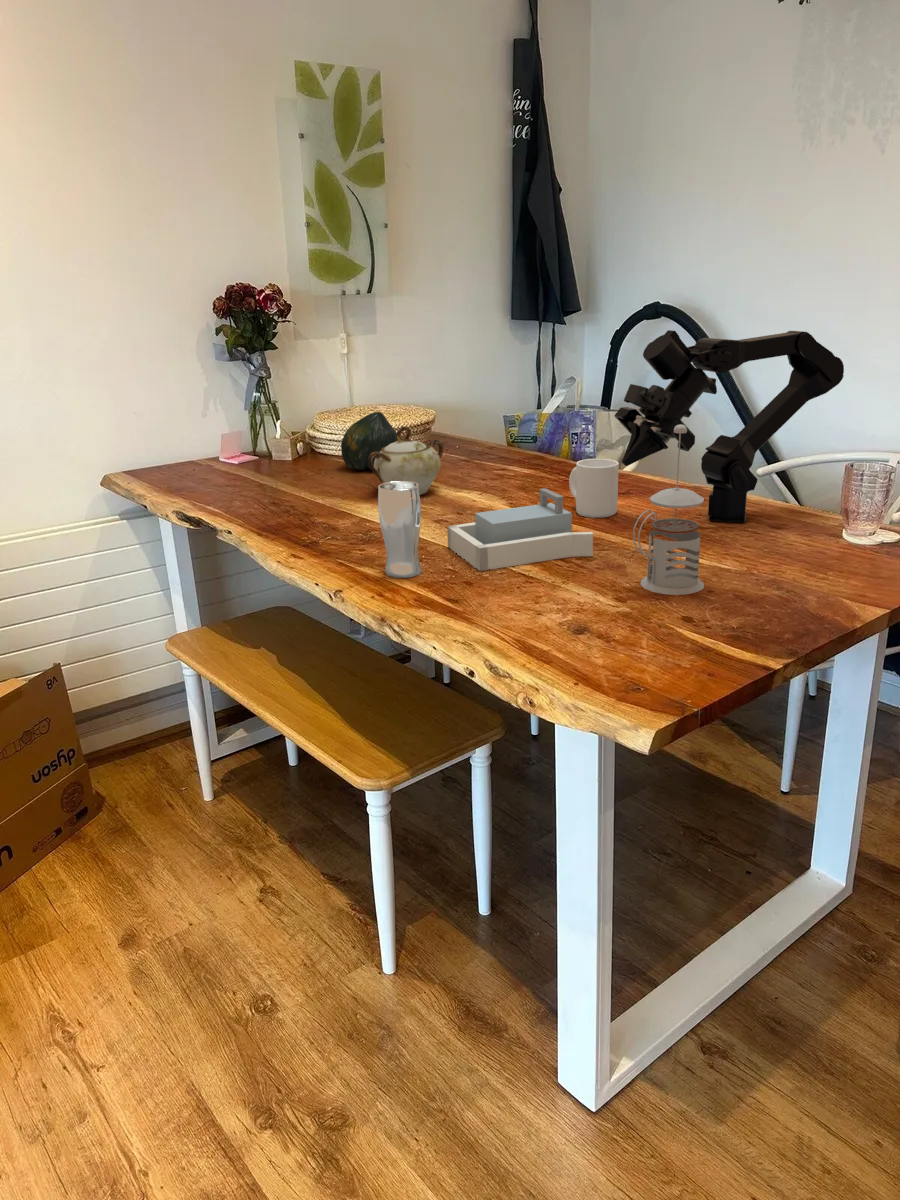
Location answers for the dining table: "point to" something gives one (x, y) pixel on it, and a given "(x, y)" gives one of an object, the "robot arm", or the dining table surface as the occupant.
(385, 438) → the squash
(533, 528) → the box with loop handle
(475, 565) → the bay
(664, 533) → the french press
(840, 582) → the dining table surface
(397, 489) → the beer glass
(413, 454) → the sugar bowl
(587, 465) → the mug
